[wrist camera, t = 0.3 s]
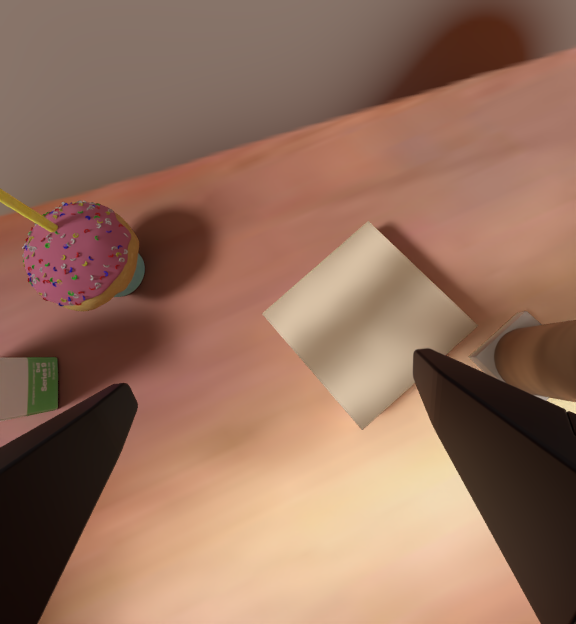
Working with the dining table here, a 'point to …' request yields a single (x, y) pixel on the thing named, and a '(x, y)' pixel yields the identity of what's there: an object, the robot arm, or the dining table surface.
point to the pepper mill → (532, 357)
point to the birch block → (366, 322)
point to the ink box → (28, 386)
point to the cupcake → (79, 254)
